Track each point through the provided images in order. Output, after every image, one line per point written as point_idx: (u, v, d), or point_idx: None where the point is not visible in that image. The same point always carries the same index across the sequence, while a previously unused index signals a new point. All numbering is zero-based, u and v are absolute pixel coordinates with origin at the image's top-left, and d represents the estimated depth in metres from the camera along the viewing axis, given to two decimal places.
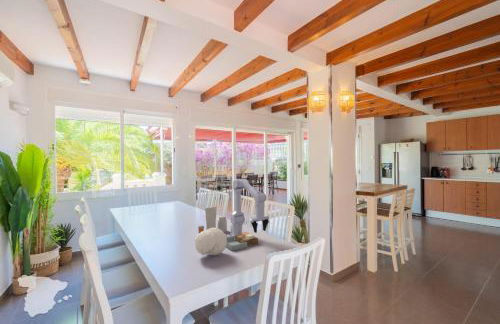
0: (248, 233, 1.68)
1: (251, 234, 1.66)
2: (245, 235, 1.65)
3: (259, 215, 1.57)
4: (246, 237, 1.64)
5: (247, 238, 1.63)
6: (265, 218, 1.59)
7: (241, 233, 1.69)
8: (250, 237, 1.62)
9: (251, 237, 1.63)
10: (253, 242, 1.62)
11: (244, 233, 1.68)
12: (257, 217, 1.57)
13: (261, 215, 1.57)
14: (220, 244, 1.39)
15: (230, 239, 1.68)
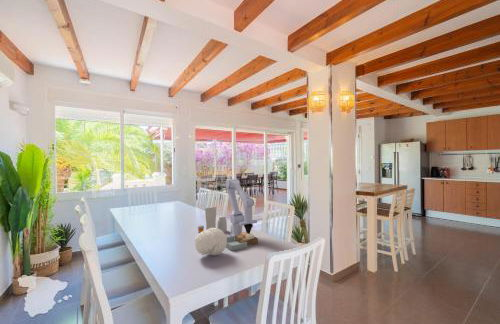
0: (247, 233, 1.68)
1: (251, 234, 1.66)
2: (245, 235, 1.65)
3: (247, 219, 1.68)
4: (246, 237, 1.64)
5: (247, 238, 1.63)
6: (253, 222, 1.70)
7: (240, 233, 1.68)
8: (250, 237, 1.62)
9: (251, 237, 1.63)
10: (253, 242, 1.62)
11: (243, 233, 1.67)
12: (245, 221, 1.68)
13: (249, 219, 1.68)
14: (220, 244, 1.39)
15: (230, 239, 1.68)
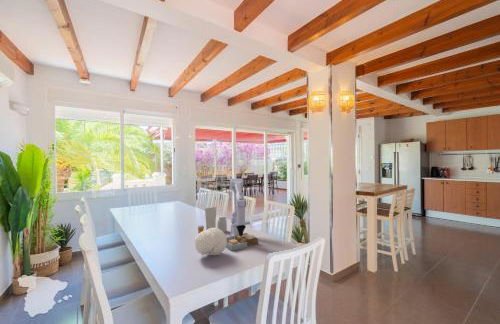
0: (233, 244, 1.61)
1: (251, 234, 1.66)
2: (245, 235, 1.65)
3: (240, 220, 1.64)
4: (246, 237, 1.64)
5: (247, 238, 1.63)
6: (246, 223, 1.67)
7: None
8: (250, 237, 1.62)
9: (251, 237, 1.63)
10: (253, 242, 1.62)
11: None
12: (238, 222, 1.65)
13: (242, 220, 1.64)
14: (220, 244, 1.39)
15: (230, 239, 1.68)
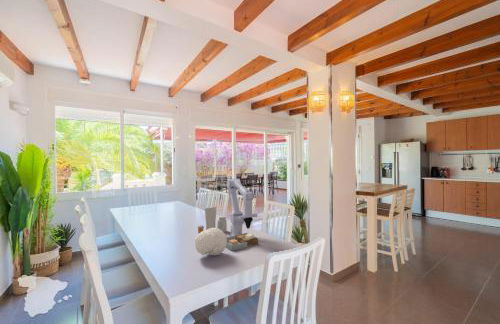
0: (233, 244, 1.61)
1: (251, 234, 1.66)
2: (245, 235, 1.65)
3: (247, 212, 1.65)
4: (246, 237, 1.64)
5: (247, 238, 1.63)
6: (253, 215, 1.67)
7: None
8: (250, 237, 1.62)
9: (251, 237, 1.63)
10: (253, 242, 1.62)
11: None
12: (245, 214, 1.65)
13: (249, 212, 1.65)
14: (220, 244, 1.39)
15: (230, 239, 1.68)
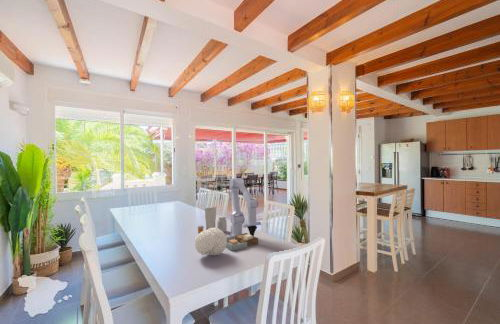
0: (233, 244, 1.61)
1: None
2: None
3: (251, 221, 1.63)
4: (244, 237, 1.63)
5: (245, 238, 1.62)
6: (257, 223, 1.66)
7: None
8: (249, 237, 1.61)
9: (250, 237, 1.62)
10: (253, 242, 1.62)
11: None
12: (249, 223, 1.63)
13: (253, 221, 1.63)
14: (220, 244, 1.39)
15: (230, 239, 1.68)
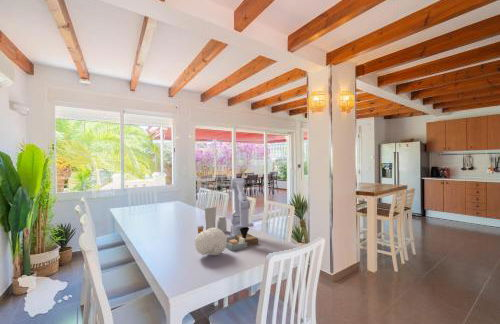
0: (233, 244, 1.61)
1: (240, 239, 1.60)
2: None
3: (243, 222, 1.59)
4: None
5: None
6: (249, 225, 1.62)
7: None
8: None
9: (243, 242, 1.59)
10: (253, 242, 1.62)
11: None
12: (241, 224, 1.59)
13: (245, 222, 1.59)
14: (220, 244, 1.39)
15: (230, 239, 1.68)
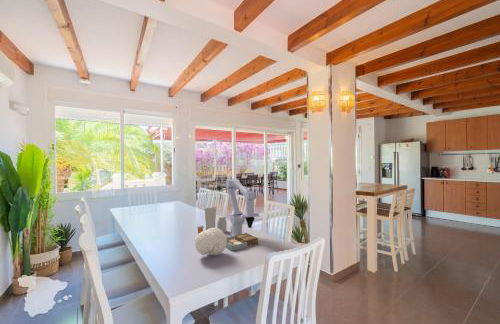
0: None
1: None
2: (239, 243, 1.62)
3: (249, 212, 1.66)
4: None
5: None
6: (255, 215, 1.68)
7: (234, 241, 1.66)
8: None
9: None
10: (253, 242, 1.62)
11: None
12: (247, 214, 1.66)
13: (251, 212, 1.66)
14: (220, 244, 1.39)
15: (230, 239, 1.68)
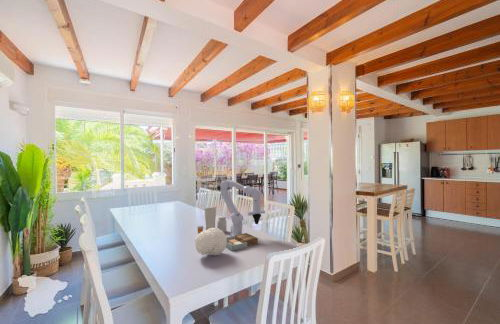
0: None
1: None
2: (239, 243, 1.62)
3: (256, 209, 1.74)
4: None
5: None
6: (261, 212, 1.77)
7: (234, 241, 1.66)
8: None
9: None
10: (253, 242, 1.62)
11: None
12: (254, 211, 1.75)
13: (257, 209, 1.75)
14: (220, 244, 1.39)
15: (230, 239, 1.68)
